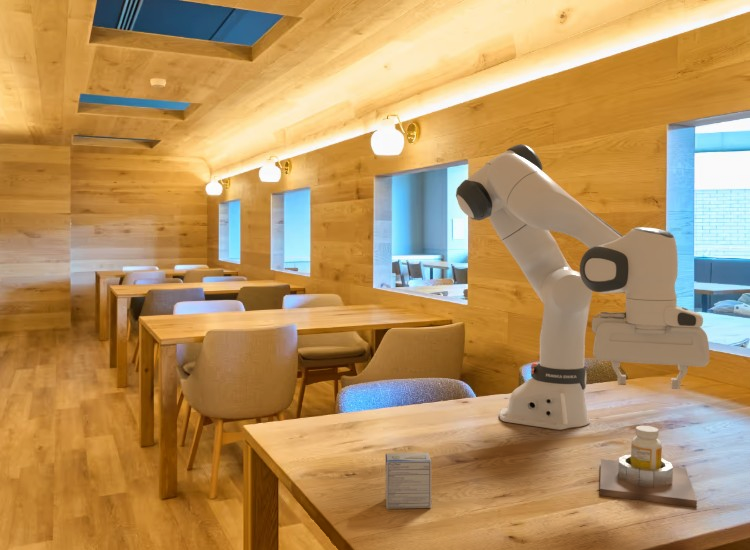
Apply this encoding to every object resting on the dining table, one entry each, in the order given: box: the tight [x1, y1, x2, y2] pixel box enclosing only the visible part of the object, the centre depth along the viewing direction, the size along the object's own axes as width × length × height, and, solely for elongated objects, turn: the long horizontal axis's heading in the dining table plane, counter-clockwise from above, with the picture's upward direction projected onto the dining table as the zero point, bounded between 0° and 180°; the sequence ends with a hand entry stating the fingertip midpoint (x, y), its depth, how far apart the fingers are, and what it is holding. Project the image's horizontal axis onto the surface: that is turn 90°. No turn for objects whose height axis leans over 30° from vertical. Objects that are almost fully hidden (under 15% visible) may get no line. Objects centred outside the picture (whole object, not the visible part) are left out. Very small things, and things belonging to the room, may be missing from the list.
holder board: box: [599, 454, 698, 508], centre depth 126 cm, size 16×17×4 cm
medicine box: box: [384, 452, 433, 510], centre depth 116 cm, size 8×4×9 cm, turn 92°
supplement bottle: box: [630, 425, 663, 469], centre depth 126 cm, size 5×5×10 cm
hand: (648, 386), depth 125 cm, fingers open, 8 cm apart
